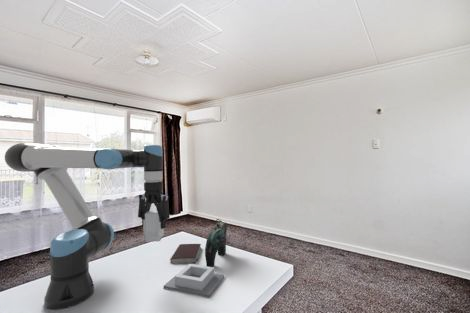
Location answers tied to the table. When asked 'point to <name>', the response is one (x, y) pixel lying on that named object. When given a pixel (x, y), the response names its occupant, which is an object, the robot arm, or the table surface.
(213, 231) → the dark green figurine
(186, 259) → the book
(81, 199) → the robot arm
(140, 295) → the table surface
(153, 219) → the skincare box
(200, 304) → the table surface
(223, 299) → the table surface
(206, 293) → the socket dock
